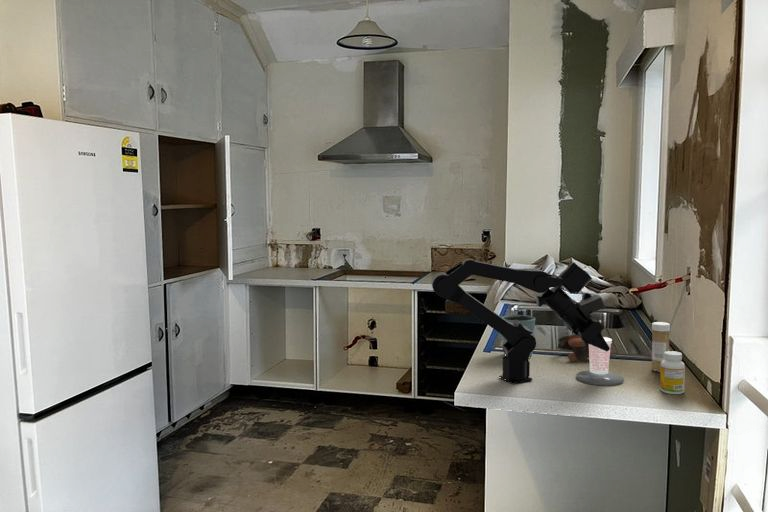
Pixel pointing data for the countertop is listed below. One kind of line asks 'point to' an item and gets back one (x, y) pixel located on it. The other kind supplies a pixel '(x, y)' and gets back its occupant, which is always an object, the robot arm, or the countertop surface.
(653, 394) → the countertop surface
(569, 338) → the pottery mug
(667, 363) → the supplement bottle
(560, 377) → the countertop surface
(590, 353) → the beverage cup
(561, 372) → the countertop surface
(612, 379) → the coaster
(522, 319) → the drinking glass
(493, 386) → the countertop surface
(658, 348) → the sprinkles bottle
